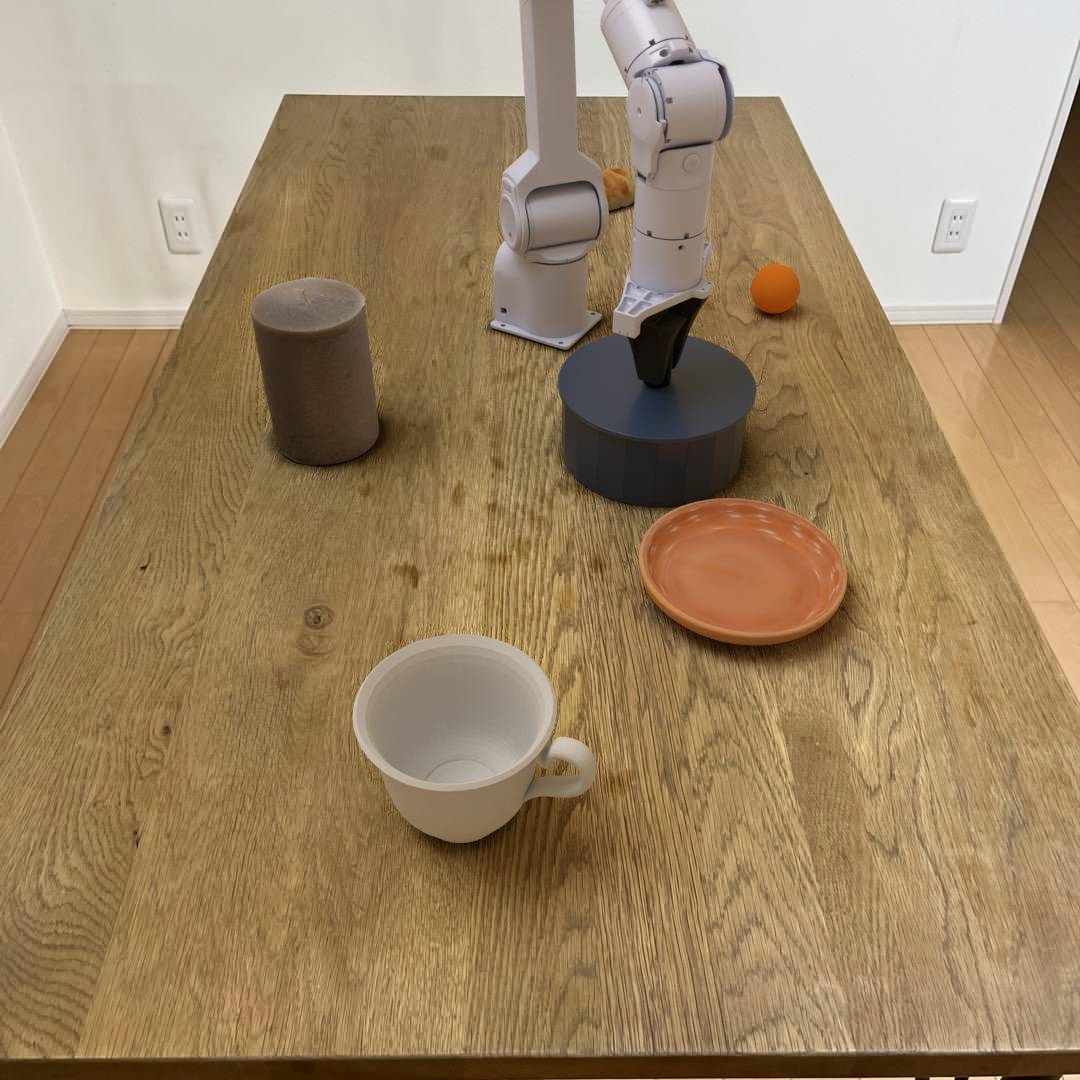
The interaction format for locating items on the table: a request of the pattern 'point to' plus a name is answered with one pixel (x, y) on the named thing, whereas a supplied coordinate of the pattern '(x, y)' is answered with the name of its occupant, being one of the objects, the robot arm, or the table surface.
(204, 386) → the table surface
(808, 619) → the saucer
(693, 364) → the lid
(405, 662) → the teacup
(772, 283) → the orange
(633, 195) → the pastry
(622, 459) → the pot
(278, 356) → the pillar candle
